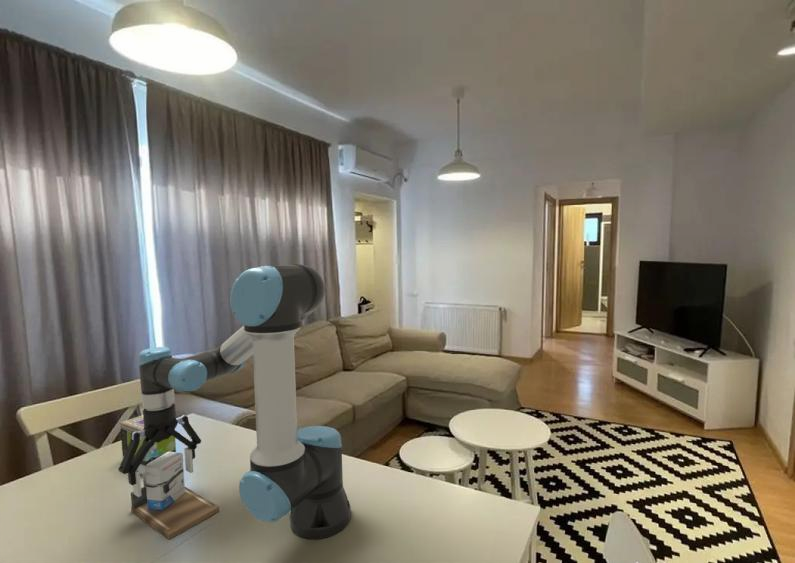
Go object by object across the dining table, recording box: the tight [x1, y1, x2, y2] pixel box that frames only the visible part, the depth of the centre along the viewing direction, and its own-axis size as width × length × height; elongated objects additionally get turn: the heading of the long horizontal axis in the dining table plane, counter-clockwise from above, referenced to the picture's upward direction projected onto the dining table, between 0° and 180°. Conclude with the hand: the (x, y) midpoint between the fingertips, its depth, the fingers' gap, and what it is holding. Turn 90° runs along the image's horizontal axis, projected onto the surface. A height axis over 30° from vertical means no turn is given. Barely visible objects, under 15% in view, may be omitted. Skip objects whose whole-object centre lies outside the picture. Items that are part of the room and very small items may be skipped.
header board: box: [130, 472, 220, 540], centre depth 110 cm, size 20×13×9 cm, turn 55°
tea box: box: [120, 414, 177, 476], centre depth 135 cm, size 15×10×15 cm, turn 58°
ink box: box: [145, 451, 186, 510], centre depth 113 cm, size 8×5×12 cm, turn 167°
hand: (164, 482), depth 113 cm, fingers open, 13 cm apart
